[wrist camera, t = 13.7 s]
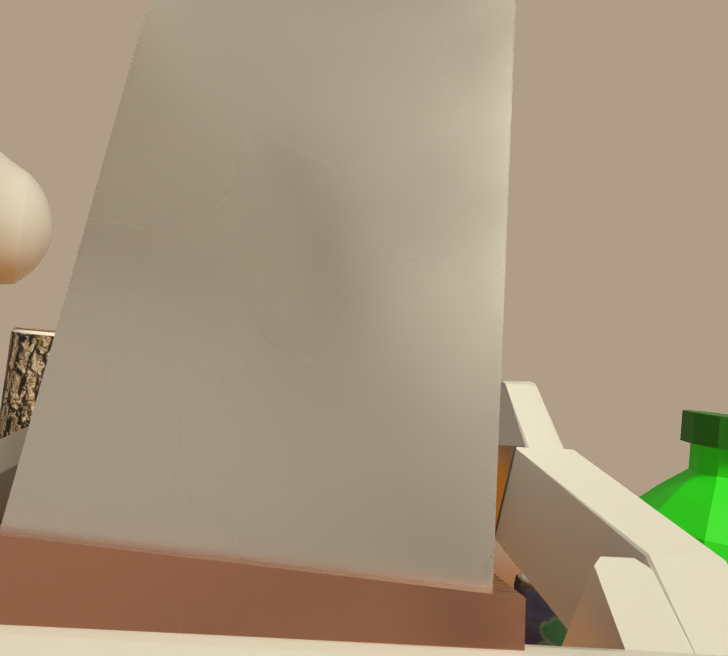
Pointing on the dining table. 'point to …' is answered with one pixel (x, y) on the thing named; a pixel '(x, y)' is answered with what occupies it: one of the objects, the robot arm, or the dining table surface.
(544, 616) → the flask
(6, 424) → the paper tube
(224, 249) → the bar
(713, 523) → the plastic bottle
